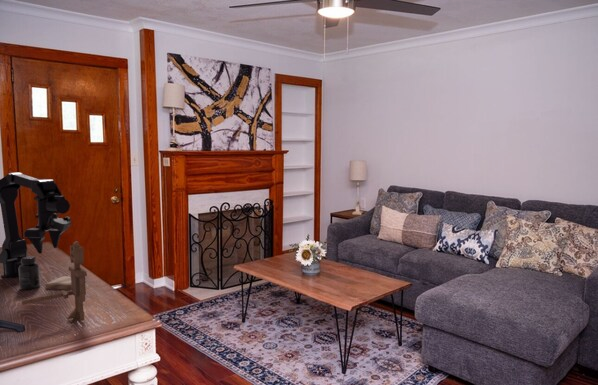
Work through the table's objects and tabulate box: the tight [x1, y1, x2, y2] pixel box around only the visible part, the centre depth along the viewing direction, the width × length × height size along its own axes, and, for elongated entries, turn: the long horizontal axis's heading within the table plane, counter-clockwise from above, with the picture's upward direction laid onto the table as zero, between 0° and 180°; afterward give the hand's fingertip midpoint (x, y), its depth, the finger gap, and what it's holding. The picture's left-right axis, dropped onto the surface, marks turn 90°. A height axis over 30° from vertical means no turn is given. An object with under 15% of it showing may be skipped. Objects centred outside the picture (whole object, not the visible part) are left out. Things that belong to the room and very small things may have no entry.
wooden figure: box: [21, 240, 88, 328], centre depth 133 cm, size 14×18×25 cm
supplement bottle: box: [18, 255, 41, 291], centre depth 168 cm, size 7×7×12 cm
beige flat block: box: [44, 275, 72, 291], centre depth 172 cm, size 10×10×3 cm
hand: (48, 250), depth 173 cm, fingers open, 9 cm apart
